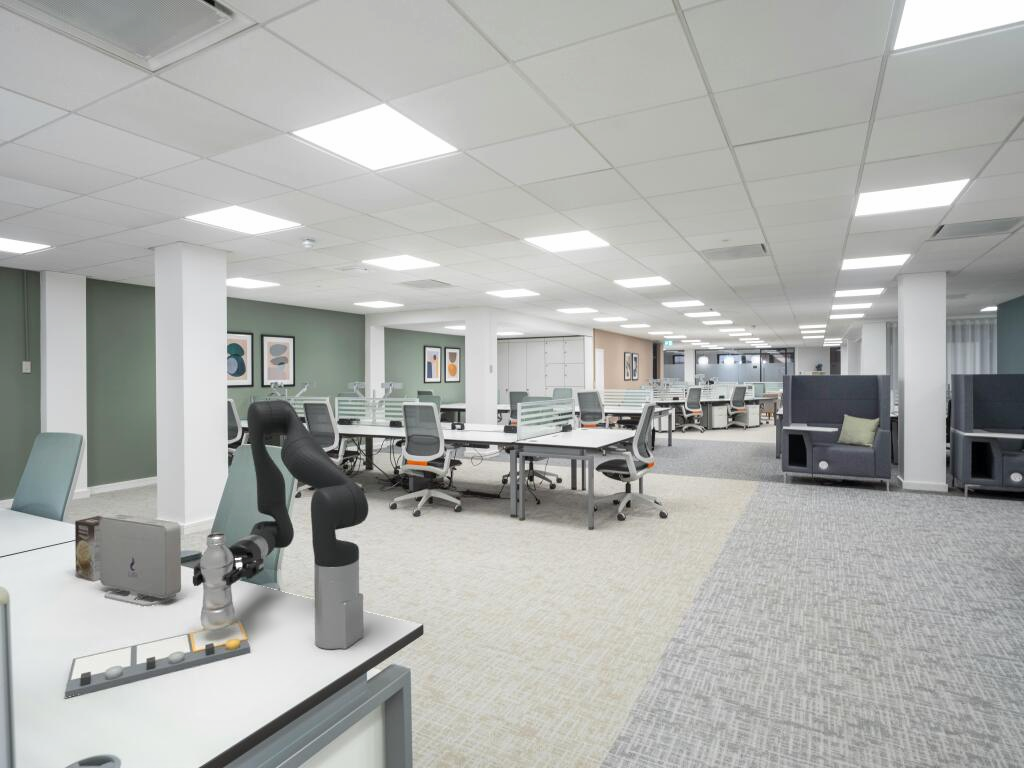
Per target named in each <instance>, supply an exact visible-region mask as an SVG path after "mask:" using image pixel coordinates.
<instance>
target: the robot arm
mask: <svg viewBox="0 0 1024 768" xmlns="http://www.w3.org/2000/svg"><path fill="white" fill-rule="evenodd" d="M246 415H247V419H246V421H247V422H246V423H247V430H248V437H249V442H250V449H251V455H252V459H253V460H252V461H253V465H254V472H255V480H256V502H257V503H256V504H257V511H258V513H260V514H262V515H265V516H270V517H271V518H273V520H263V521H258V522H256V523H255V524H254V525H253V526H252V528H251V531H250V533H249V534H248V535H247V536H244V537H242V538H241V539H239V540H238V541H236V542H235V543H233V544H232V545H230V546H229V547H228V549H229V550H230V551H231V552H232V554H233V557H234V560H233V568H232V572H230V573H229V574H228V575H227V576H226V585H227V586H230V585H231V586H232V585H233V584H235V583H237V581H241V580H243V578H246V580H247V579H248V580H249V579H253V577H255V576H257V575H258V574H260V573H261V572H262V571H264V569H265V567H264V564H265V563H264V560H265V559H266V558H267V557H268V556H269V555H270V554H271V553H272V552H273V551H274V549H282V548H283V549H284V548H287V547H289V546H290V544H292V542H293V539H294V537H295V536H294V535H295V531H294V526H293V523H292V520H291V518H290V514H289V511H288V507H287V500H286V498H287V497H286V494H287V493H286V480H285V477H284V475H283V472H281V469H280V468H279V467H278V466H277V464H276V463H275V461H274V460H273V459H272V457H271V455H270V453H269V452H268V449H267V447H266V443H265V442H266V441H265V437H268V436H277V435H279V436H280V435H284V436H286V437H285V439H284V442H283V443H282V445H281V449H280V458H281V461H282V463H283V465H284V466H285V468H286V470H288V472H289V474H290V475H291V476H292V477H293V478H294V479H295V480H297V481H298V482H301V483H302V484H305V485H307V486H310V487H312V488H315V489H316V490H315V491H314V492H313V494H312V496H311V501H310V521H311V536H312V538H311V539H312V549H313V556H314V558H313V559H314V569H313V570H314V577H313V578H314V644H315V646H317V647H318V648H321V649H325V650H326V649H327V650H337V649H344V650H345V649H348V648H349V647H350V646H352V645H353V644H355V643H356V642H358V641H359V640H361V639H362V638H363V637H364V594H363V593H360V548H359V546H358V544H356V543H355V542H351V541H348V540H341V539H338V538H337V535H336V534H337V533H336V530H341V529H346V528H347V529H348V528H352V527H355V526H358V525H360V524H362V523H363V522H365V521H366V519H367V517H368V514H369V502H368V500H367V497H366V495H365V493H364V491H363V490H362V488H361V487H360V485H358V483H356V482H355V480H353V479H352V478H351V477H350V476H349V475H347V473H345V472H344V471H343V470H342V469H341V467H339V466H338V465H337V464H336V462H334V461H333V460H332V458H331V457H330V456H329V454H327V452H326V450H325V449H324V448H323V447H322V446H321V444H320V443H319V442H318V441H317V439H316V438H314V436H313V435H312V434H311V433H310V432H309V430H308V429H307V428H306V426H305V425H304V423H303V421H302V420H301V418H300V417H299V415H298V413H297V411H296V409H295V408H294V406H293V405H292V404H291V403H290V402H289V401H287V400H283V399H282V400H281V399H279V400H277V399H276V400H264V401H263V400H260V401H254V402H251V403H250V404H249V406H248V409H247V414H246ZM201 584H203V578H202V573H201V567H200V562H198V563H197V564H196V565H195V566H194V567H193V576H192V585H193V587H199V586H200V585H201Z"/></svg>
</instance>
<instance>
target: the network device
mask: <svg viewBox="0 0 1024 768" xmlns="http://www.w3.org/2000/svg"><path fill="white" fill-rule="evenodd" d="M101 517H102V518H101V519H100V521H99V530H100V581H99V582H100V583H101V585H102V586H104V587H108V588H113V589H111V590H109V591H106V592H105V593H104V598H105V599H108V600H112V601H117V602H122V603H125V604H129V603H130V605H134V604H135V605H134V606H138V605H140V607H144V606H146V607H153V606H152V605H154V606H157V604H158V605H160V603H161V604H163V603H166V602H168V601H171V600H173V599H174V597H175V598H176V597H177V596H176V595H178V593H180V592H181V591H182V590H181V589H182V561H181V560H182V554H181V553H182V552H181V551H182V549H181V548H182V544H181V543H182V542H181V541H182V540H181V537H182V536H181V535H182V534H181V533H182V532H181V531H182V530H181V525H180V523H179V522H178V521H173V520H166V519H165V520H164V519H159V518H158V519H157V518H151V517H149V518H148V517H144V516H135V515H129V514H122V513H115V514H110V515H106V516H101ZM121 590H123V591H126V592H129V594H128V595H127V596H118V595H114V594H116V592H117V593H119V592H118V591H120V592H122V591H121ZM113 593H114V594H113ZM110 594H111V595H110ZM146 595H148V596H150V597H155V598H159V599H157V600H154V601H152V602H146V601H142V600H139V599H138V598H140V599H142V598H141V597H143V598H145V597H147V596H146ZM144 596H145V597H144ZM136 599H137V600H136ZM170 599H171V600H170ZM165 601H166V602H165Z"/></svg>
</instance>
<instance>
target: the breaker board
mask: <svg viewBox="0 0 1024 768" xmlns="http://www.w3.org/2000/svg"><path fill="white" fill-rule="evenodd" d="M250 653H251V646H250V643H249V641H248V637H247V634H246V631H245V629H244V627H243V624H242V622H241V621H236V622H232V623H231V625H229V626H228V627H226V628H223V629H220V630H206V629H205V628H204V629H201V630H195V631H192V632H191V631H190V632H188V633H184V634H179V635H176V636H171V637H170V636H169V637H166V638H162V639H157V640H152V641H147V642H143V643H139V644H135V645H130V646H126V647H120V648H115V649H112V650H111V649H110V650H107V651H103V652H98V653H94V654H89V655H86V656H85V655H84V656H80V657H76V658H72V662H71V666H70V670H69V675H68V678H67V683H66V687H65V691H64V698H65V697H69V696H73V695H78V694H82V695H85V694H84V693H86V694H89V693H88V692H90V693H93V692H92V691H94V692H98V691H102V690H106V689H109V688H113V687H118V686H122V685H125V684H131V683H135V682H137V681H142V680H147V679H150V678H153V677H154V678H155V677H158V676H163V675H166V674H170V672H171V673H174V672H173V671H175V672H178V671H177V670H179V671H181V669H183V670H185V669H184V668H187V669H189V667H191V668H193V667H192V666H195V667H197V666H196V665H199V666H201V665H200V664H203V665H206V664H205V663H207V664H209V663H208V662H211V663H213V661H215V662H219V661H222V659H223V660H227V659H230V658H234V657H238V656H243V655H246V654H250ZM218 660H219V661H218ZM78 696H79V695H78Z"/></svg>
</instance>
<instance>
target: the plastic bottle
mask: <svg viewBox="0 0 1024 768" xmlns="http://www.w3.org/2000/svg"><path fill="white" fill-rule="evenodd" d="M227 542H228V541H227V535H226V533H225V532H214V533H211V534H207V535H206V545H205V546H207V548H206V549H205V551H204V552H203V554H202V556H201V558H200V561H199V563H200V567H201V573H202V578H203V583H202V586H203V589H202V592H203V594H202V595H203V596H202V607H201V611H200V612H201V613H200V623H201V626H202V627H203V628H204V629H206V630H220V629H223V628H226V627H228V626H229V625H231V623H234V618H235V613H236V612H235V605H234V603H233V602H234V601H233V595H232V585H230V586H227V585H226V576H227V575H228V574H229V573H230V572H232V568H233V560H234V557H233V554H232V552H231V551H230V550H229V549H228V548H229V547H227V545H226V544H227Z"/></svg>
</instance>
